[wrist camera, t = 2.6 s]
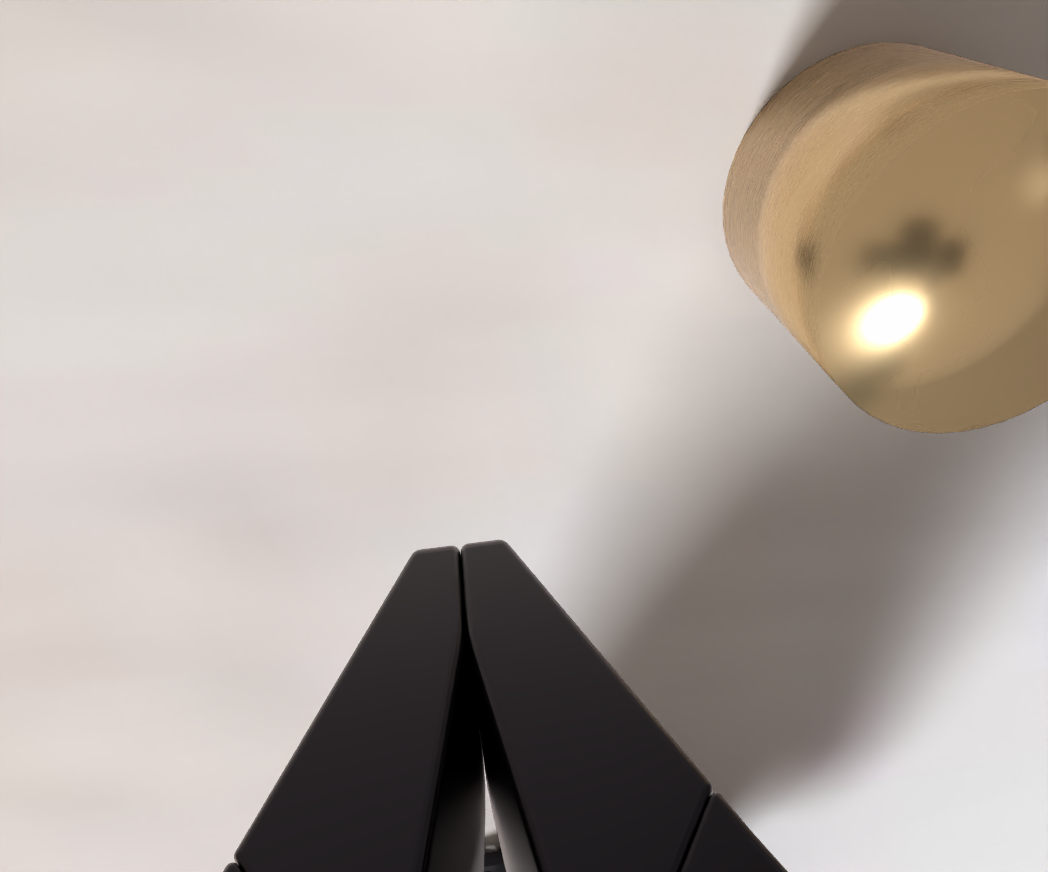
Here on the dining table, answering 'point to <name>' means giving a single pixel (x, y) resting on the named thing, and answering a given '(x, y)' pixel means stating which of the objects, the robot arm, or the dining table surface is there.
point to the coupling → (904, 231)
